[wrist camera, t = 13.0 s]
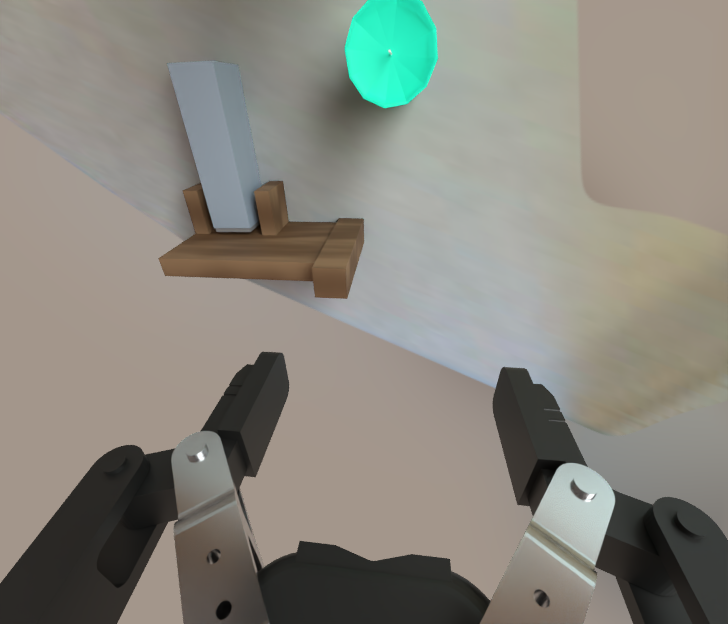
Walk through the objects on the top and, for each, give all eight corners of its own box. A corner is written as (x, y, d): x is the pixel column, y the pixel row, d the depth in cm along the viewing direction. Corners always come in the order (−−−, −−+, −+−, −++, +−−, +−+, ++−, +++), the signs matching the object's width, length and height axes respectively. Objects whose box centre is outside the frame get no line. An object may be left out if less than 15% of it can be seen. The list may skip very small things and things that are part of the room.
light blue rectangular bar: (198, 66, 32) (166, 63, 28) (238, 64, 31) (212, 60, 27) (235, 217, 40) (215, 232, 36) (267, 217, 39) (251, 232, 35)
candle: (422, 107, 32) (429, 114, 22) (359, 99, 32) (337, 103, 22) (436, 24, 28) (452, -12, 18) (366, 16, 28) (343, -24, 19)
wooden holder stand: (205, 180, 38) (123, 216, 27) (362, 181, 36) (342, 220, 25) (220, 238, 41) (153, 290, 31) (364, 242, 40) (347, 298, 29)
